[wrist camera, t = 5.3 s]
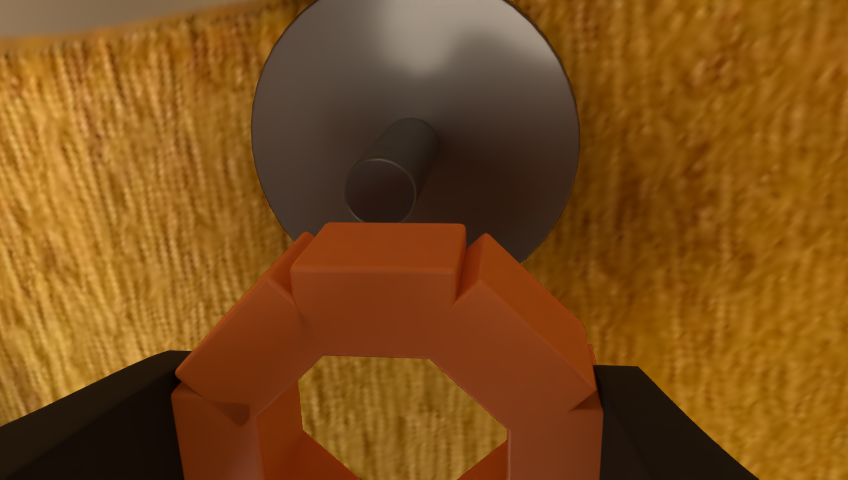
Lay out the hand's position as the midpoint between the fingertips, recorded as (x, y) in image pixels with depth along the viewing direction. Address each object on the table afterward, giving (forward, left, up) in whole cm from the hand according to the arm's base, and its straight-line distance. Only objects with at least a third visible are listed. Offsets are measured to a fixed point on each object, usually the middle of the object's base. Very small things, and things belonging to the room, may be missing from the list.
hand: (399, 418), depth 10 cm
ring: (0, 0, -1) cm, 1 cm away
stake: (+1, +2, -9) cm, 9 cm away
